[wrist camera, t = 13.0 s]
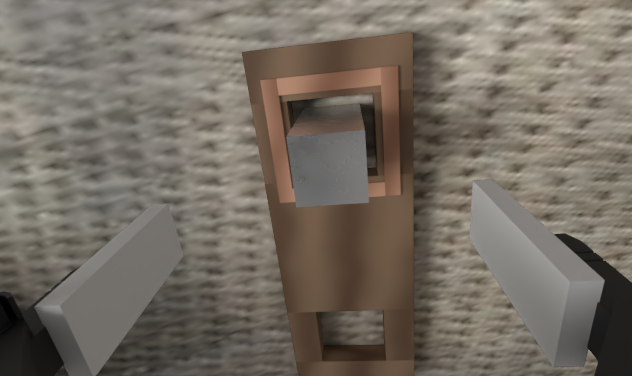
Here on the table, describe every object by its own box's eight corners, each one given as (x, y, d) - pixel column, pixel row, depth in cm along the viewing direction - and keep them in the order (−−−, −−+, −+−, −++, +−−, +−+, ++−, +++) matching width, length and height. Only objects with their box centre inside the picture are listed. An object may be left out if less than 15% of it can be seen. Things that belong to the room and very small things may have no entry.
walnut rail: (302, 371, 40) (300, 389, 38) (248, 51, 27) (241, 52, 25) (411, 370, 39) (414, 388, 37) (407, 32, 26) (413, 32, 24)
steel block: (309, 161, 30) (296, 207, 22) (303, 108, 29) (286, 137, 20) (362, 157, 30) (369, 202, 22) (359, 103, 28) (365, 130, 20)
